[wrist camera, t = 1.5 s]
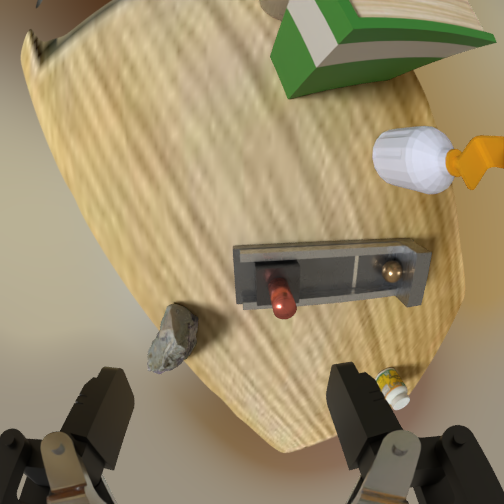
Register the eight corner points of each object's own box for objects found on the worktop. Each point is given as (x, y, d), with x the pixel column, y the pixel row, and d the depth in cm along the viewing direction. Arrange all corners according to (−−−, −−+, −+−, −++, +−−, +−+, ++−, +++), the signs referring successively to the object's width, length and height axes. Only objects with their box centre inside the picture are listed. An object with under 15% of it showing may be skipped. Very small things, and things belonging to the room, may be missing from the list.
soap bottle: (360, 155, 37) (484, 165, 14) (393, 118, 35) (516, 106, 12) (394, 196, 39) (512, 242, 16) (424, 160, 37) (542, 180, 14)
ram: (254, 260, 40) (258, 289, 31) (295, 257, 40) (311, 286, 31) (255, 294, 42) (260, 330, 33) (294, 291, 42) (308, 326, 33)
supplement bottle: (370, 383, 53) (385, 413, 44) (382, 366, 51) (399, 395, 42) (387, 383, 54) (403, 411, 45) (399, 367, 52) (417, 394, 43)
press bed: (233, 245, 41) (231, 264, 34) (409, 237, 42) (434, 252, 35) (236, 299, 44) (236, 325, 37) (401, 285, 45) (423, 304, 38)
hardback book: (371, 41, 31) (462, -19, 8) (388, 80, 33) (496, 42, 10) (270, 56, 32) (306, -45, 9) (288, 99, 34) (353, 29, 12)
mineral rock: (160, 363, 48) (148, 400, 38) (126, 321, 45) (106, 356, 35) (217, 342, 47) (213, 382, 37) (184, 294, 43) (171, 330, 34)
